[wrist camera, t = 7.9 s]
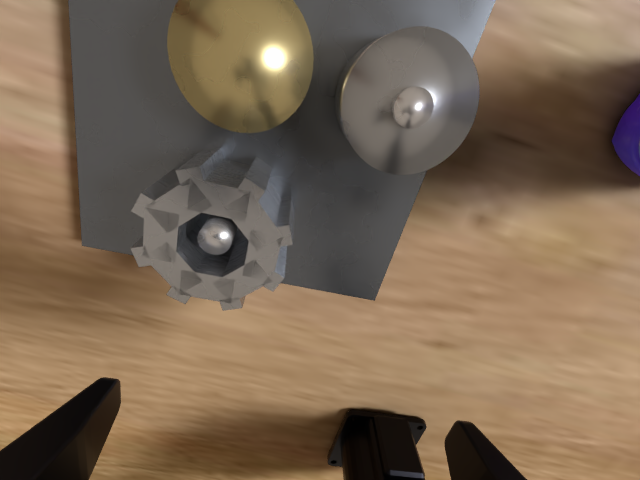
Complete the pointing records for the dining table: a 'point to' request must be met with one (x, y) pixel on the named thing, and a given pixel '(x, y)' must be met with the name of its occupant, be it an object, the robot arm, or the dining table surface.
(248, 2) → the plate
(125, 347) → the dining table surface
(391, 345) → the dining table surface
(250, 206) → the planet gear
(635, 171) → the bottle
